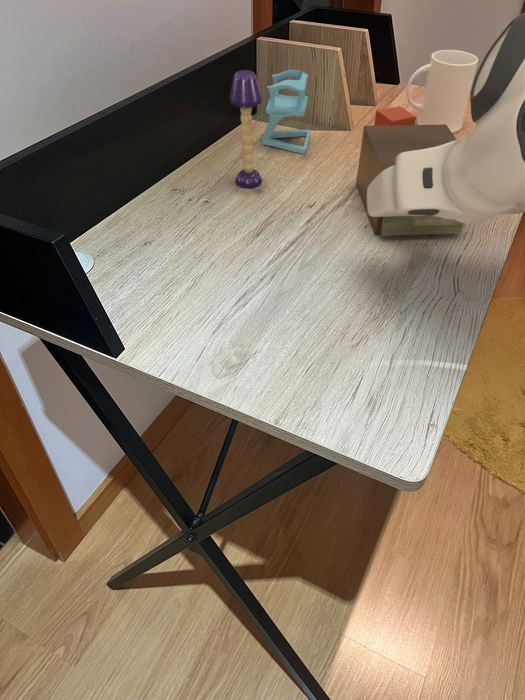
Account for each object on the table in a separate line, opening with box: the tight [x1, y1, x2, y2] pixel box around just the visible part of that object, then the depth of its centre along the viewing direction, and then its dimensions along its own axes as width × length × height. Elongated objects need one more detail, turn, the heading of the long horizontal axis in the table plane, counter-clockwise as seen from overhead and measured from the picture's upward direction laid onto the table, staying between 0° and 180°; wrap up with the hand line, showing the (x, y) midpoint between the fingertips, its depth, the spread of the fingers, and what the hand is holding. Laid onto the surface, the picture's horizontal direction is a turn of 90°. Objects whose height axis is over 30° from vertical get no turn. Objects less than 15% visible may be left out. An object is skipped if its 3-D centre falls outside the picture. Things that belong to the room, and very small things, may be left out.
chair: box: [261, 69, 311, 155], centre depth 98 cm, size 8×8×12 cm
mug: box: [405, 49, 479, 134], centre depth 105 cm, size 12×8×12 cm
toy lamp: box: [229, 69, 263, 189], centre depth 86 cm, size 5×5×17 cm
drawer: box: [380, 216, 465, 236], centre depth 81 cm, size 18×11×8 cm, turn 4°
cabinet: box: [355, 124, 458, 236], centre depth 84 cm, size 15×13×10 cm
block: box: [373, 105, 417, 126], centre depth 102 cm, size 5×5×5 cm
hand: (431, 211), depth 76 cm, fingers closed, pressing on drawer
